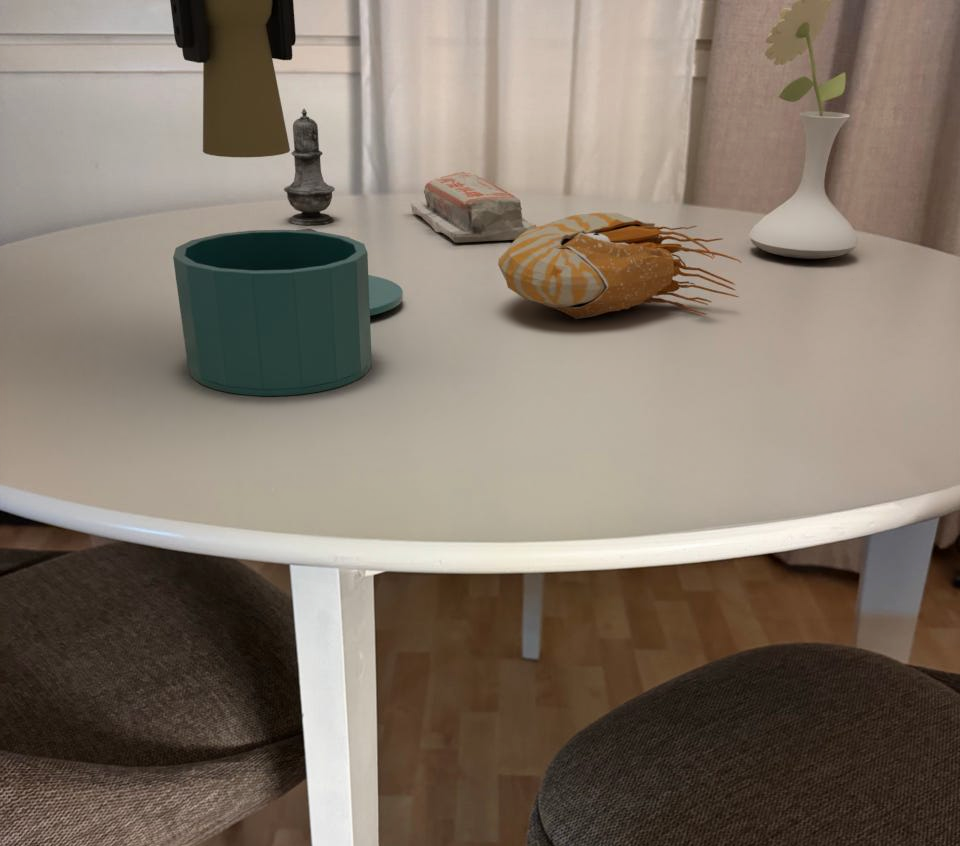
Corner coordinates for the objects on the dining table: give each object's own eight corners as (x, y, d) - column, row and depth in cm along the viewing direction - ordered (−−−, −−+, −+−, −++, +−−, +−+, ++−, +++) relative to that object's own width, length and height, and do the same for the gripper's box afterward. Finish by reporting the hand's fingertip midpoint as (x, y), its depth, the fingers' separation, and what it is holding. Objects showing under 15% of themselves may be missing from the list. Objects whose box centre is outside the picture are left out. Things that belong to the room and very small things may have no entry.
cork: (219, 143, 78) (200, -35, 72) (300, 146, 77) (287, -33, 71) (190, 155, 73) (166, -35, 67) (275, 158, 72) (260, -34, 66)
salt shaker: (304, 227, 123) (296, 112, 116) (276, 219, 127) (267, 107, 120) (346, 221, 126) (340, 109, 120) (318, 213, 130) (311, 104, 123)
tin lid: (279, 337, 87) (273, 262, 84) (214, 296, 97) (206, 228, 94) (433, 313, 94) (432, 242, 91) (356, 277, 104) (354, 212, 101)
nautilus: (730, 300, 101) (739, 357, 89) (506, 275, 102) (485, 327, 90) (748, 213, 96) (761, 261, 84) (513, 188, 98) (492, 231, 85)
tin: (230, 408, 73) (215, 282, 68) (164, 355, 83) (147, 241, 78) (402, 376, 79) (399, 258, 75) (323, 330, 89) (316, 223, 84)
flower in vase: (815, 240, 121) (860, -16, 108) (876, 263, 112) (934, -14, 99) (714, 247, 118) (748, -18, 104) (769, 271, 109) (813, -15, 95)
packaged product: (540, 194, 116) (453, 199, 114) (538, 241, 119) (453, 246, 116) (487, 168, 131) (409, 171, 128) (486, 210, 133) (410, 214, 131)
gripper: (310, -267, 69) (327, 53, 78) (37, -302, 61) (94, 59, 70) (365, -285, 63) (376, 60, 73) (74, -326, 55) (130, 68, 65)
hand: (238, 56), depth 72 cm, fingers closed on cork, 5 cm apart
